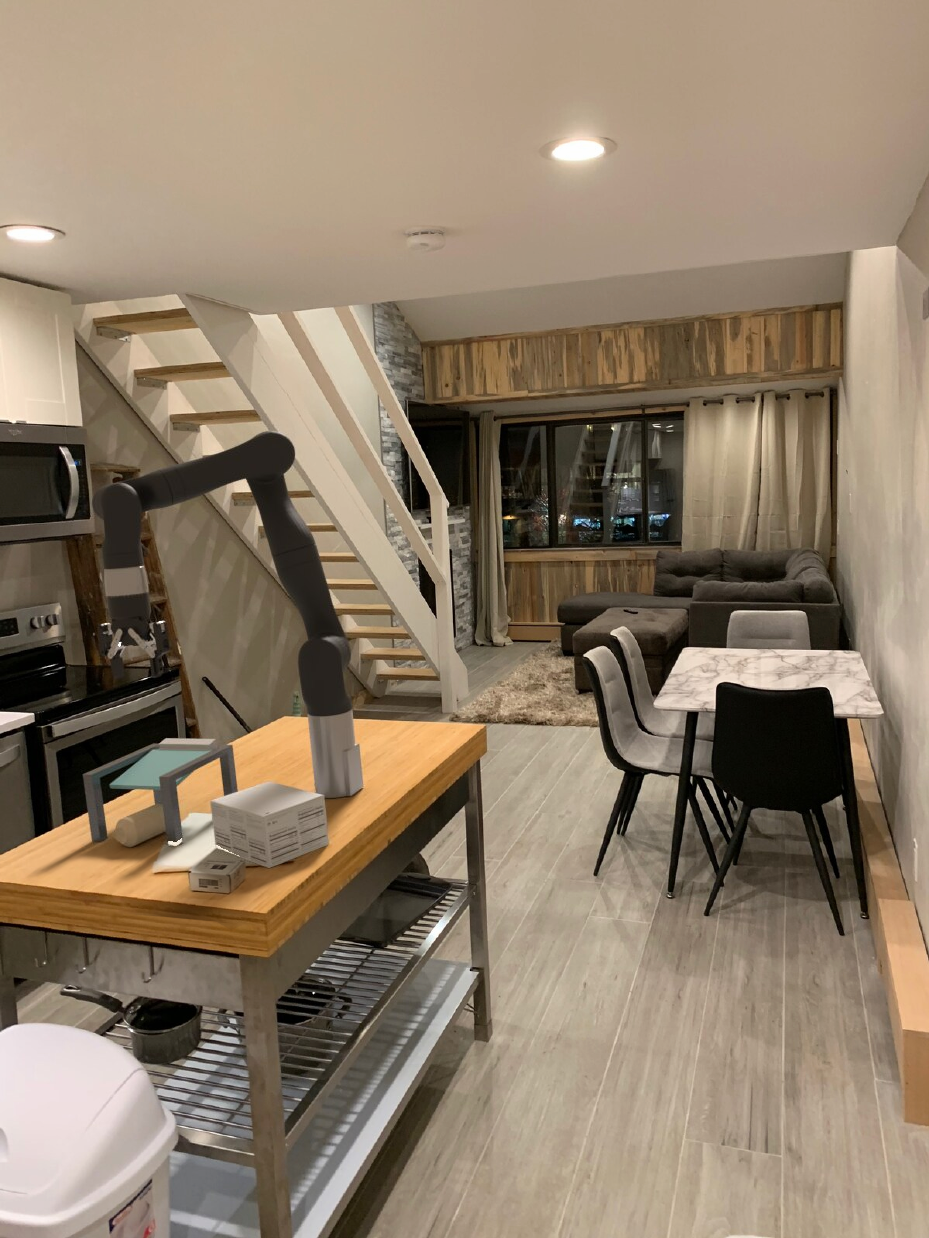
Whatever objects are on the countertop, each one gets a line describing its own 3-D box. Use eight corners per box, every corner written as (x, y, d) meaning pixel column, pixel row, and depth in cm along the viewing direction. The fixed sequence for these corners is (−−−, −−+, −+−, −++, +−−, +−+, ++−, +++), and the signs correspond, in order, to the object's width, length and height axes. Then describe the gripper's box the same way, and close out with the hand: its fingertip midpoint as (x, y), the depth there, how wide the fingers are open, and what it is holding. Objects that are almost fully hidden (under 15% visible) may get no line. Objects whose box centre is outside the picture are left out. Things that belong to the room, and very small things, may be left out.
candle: (167, 801, 176) (126, 819, 167) (175, 829, 176) (133, 849, 167) (148, 804, 179) (106, 822, 170) (155, 832, 179) (113, 851, 170)
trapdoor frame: (161, 803, 195) (153, 743, 193) (239, 807, 188) (232, 744, 187) (91, 841, 175) (82, 774, 173) (176, 846, 169) (168, 777, 167)
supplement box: (331, 844, 164) (326, 794, 163) (269, 870, 155) (263, 816, 154) (275, 826, 176) (270, 779, 175) (214, 849, 166) (208, 799, 165)
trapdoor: (164, 748, 192) (161, 738, 192) (222, 749, 188) (219, 738, 187) (111, 791, 177) (108, 780, 176) (173, 794, 172) (170, 782, 172)
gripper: (171, 587, 173) (182, 672, 176) (109, 590, 178) (120, 673, 180) (146, 592, 166) (157, 681, 169) (82, 595, 171) (93, 681, 173)
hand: (138, 677), depth 174 cm, fingers open, 8 cm apart
